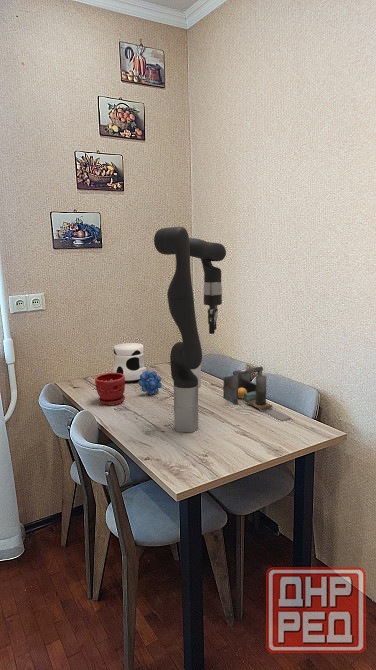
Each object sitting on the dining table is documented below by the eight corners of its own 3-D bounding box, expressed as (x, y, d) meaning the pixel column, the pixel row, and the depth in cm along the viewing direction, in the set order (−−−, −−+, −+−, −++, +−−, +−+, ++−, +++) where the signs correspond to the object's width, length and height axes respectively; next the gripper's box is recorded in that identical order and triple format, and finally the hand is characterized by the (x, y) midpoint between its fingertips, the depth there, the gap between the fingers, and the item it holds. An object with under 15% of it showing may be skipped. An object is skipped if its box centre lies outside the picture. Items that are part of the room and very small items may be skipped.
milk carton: (181, 388, 222) (180, 350, 218) (188, 384, 228) (187, 347, 224) (194, 390, 218) (194, 352, 215) (201, 386, 224) (200, 348, 221)
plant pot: (112, 395, 212) (111, 370, 210) (131, 401, 204) (130, 375, 202) (90, 402, 203) (88, 377, 200) (109, 409, 194) (108, 382, 192)
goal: (262, 399, 205) (263, 367, 202) (235, 404, 198) (235, 371, 195) (249, 392, 213) (249, 362, 210) (222, 398, 206) (222, 366, 203)
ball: (239, 399, 208) (246, 401, 204) (232, 394, 206) (238, 396, 202) (244, 389, 209) (251, 391, 205) (237, 384, 207) (243, 386, 203)
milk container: (111, 376, 243) (109, 343, 240) (142, 373, 248) (141, 341, 245) (115, 385, 227) (114, 350, 223) (149, 382, 232) (148, 348, 228)
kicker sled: (272, 407, 192) (272, 378, 189) (260, 409, 189) (261, 380, 186) (254, 398, 202) (255, 371, 199) (244, 401, 199) (244, 373, 197)
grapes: (142, 399, 206) (141, 374, 204) (137, 395, 212) (136, 370, 210) (165, 395, 211) (165, 370, 209) (160, 391, 217) (159, 367, 215)
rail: (291, 419, 181) (291, 417, 181) (281, 421, 179) (281, 419, 178) (268, 408, 193) (269, 406, 193) (259, 410, 191) (259, 409, 190)
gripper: (205, 291, 194) (205, 328, 197) (201, 295, 180) (201, 334, 183) (223, 291, 193) (222, 328, 196) (220, 295, 179) (220, 335, 182)
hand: (212, 331), depth 189 cm, fingers open, 8 cm apart
